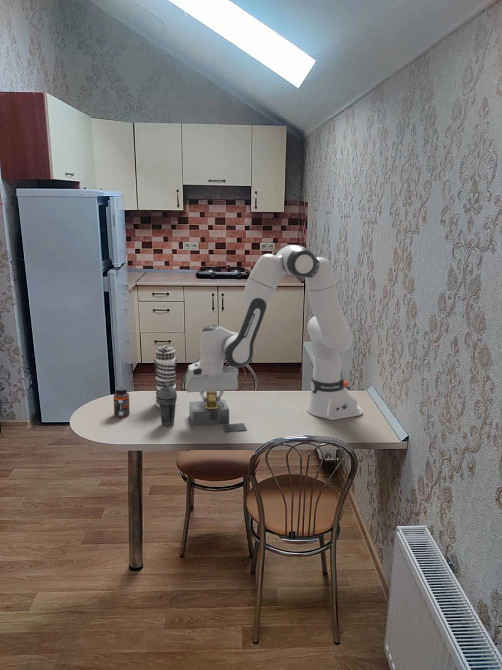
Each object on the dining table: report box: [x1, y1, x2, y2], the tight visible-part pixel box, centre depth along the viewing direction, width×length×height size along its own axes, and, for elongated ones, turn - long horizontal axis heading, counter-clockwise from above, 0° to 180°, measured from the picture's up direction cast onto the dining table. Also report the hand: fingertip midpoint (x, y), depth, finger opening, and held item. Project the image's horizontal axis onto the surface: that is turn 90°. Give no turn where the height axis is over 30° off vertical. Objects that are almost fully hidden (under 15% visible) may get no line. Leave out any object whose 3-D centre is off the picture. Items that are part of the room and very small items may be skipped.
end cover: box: [205, 391, 218, 409], centre depth 202 cm, size 5×5×10 cm
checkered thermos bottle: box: [153, 344, 178, 408], centre depth 215 cm, size 9×9×25 cm
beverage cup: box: [158, 376, 178, 428], centre depth 197 cm, size 7×7×20 cm
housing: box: [188, 399, 230, 428], centre depth 203 cm, size 14×10×6 cm
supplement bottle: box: [113, 386, 131, 419], centre depth 205 cm, size 6×6×11 cm
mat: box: [222, 422, 248, 433], centre depth 197 cm, size 8×6×1 cm
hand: (211, 401), depth 202 cm, fingers closed on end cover, 4 cm apart
